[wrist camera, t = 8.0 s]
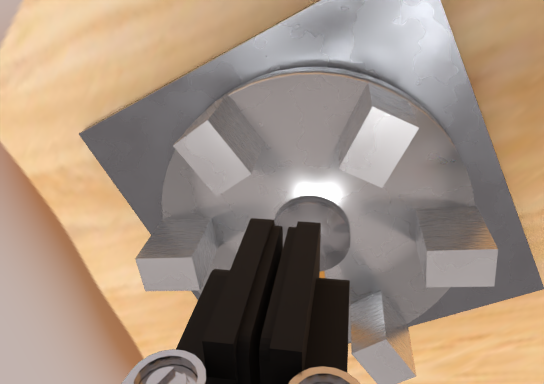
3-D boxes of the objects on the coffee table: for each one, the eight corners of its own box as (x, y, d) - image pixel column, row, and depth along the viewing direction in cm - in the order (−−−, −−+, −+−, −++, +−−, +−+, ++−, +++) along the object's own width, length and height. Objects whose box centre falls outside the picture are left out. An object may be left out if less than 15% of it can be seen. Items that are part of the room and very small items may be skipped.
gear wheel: (140, 83, 29) (90, 115, 24) (478, 49, 26) (515, 77, 20) (202, 325, 38) (176, 391, 32) (459, 325, 35) (482, 400, 29)
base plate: (418, -55, 25) (421, -55, 24) (539, 280, 33) (545, 290, 32) (85, 128, 33) (77, 134, 32) (251, 362, 41) (248, 373, 40)
